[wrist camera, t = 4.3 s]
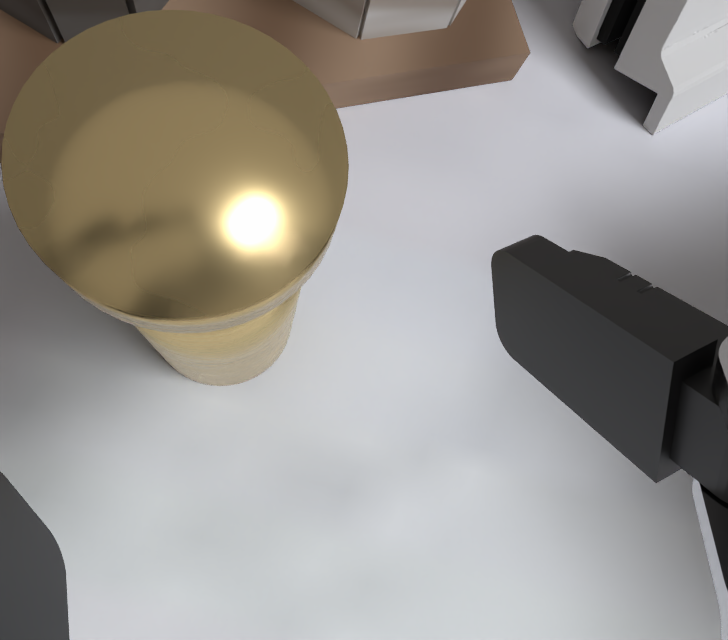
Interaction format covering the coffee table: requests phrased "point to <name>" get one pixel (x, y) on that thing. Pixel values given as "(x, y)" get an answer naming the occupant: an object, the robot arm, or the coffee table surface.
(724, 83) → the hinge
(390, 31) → the board
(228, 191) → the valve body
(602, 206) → the coffee table surface
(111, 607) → the coffee table surface
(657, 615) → the coffee table surface
